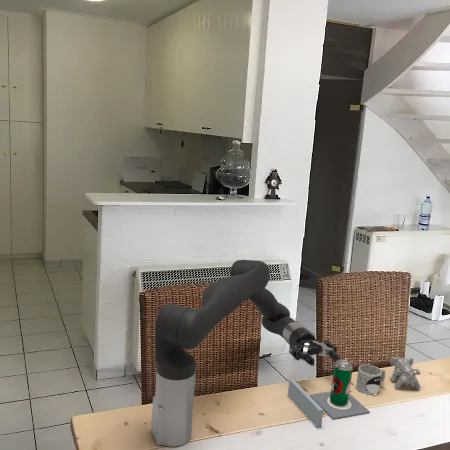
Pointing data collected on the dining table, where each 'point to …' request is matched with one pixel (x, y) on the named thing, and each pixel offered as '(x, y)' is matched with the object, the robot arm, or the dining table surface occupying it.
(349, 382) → the soda can
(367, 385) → the mug
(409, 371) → the elephant statuette
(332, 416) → the slate pad
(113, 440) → the dining table surface
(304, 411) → the acrylic wall
